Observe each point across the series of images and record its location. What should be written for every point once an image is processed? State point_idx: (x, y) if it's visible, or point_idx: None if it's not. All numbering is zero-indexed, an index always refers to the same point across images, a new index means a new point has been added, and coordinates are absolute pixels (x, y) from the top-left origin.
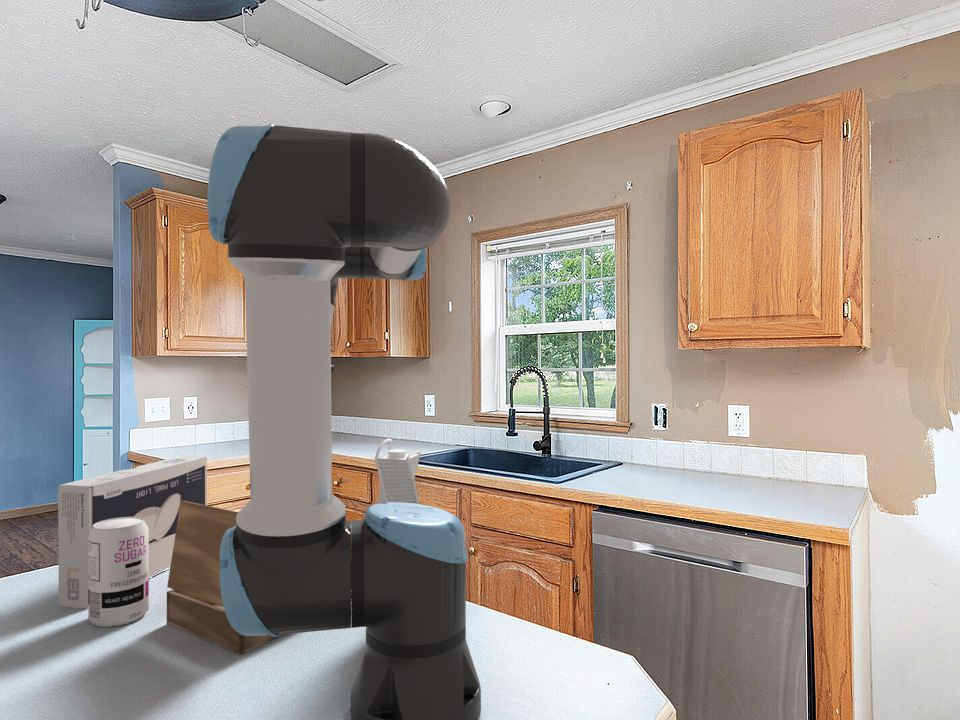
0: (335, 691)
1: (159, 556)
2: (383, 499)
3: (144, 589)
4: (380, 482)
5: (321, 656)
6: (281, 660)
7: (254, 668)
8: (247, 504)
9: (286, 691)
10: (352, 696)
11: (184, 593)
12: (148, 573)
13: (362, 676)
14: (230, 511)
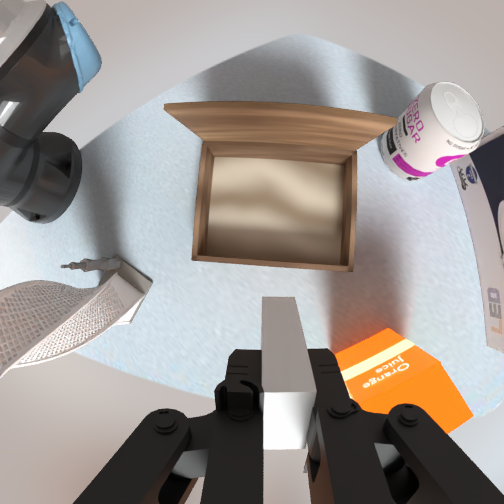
0: (99, 159)
1: (489, 261)
2: (37, 302)
3: (394, 153)
4: (9, 288)
5: (140, 193)
6: (168, 167)
7: (180, 144)
8: (30, 2)
9: (131, 137)
10: (65, 138)
11: (350, 172)
12: (408, 159)
13: (48, 134)
14: (227, 101)
